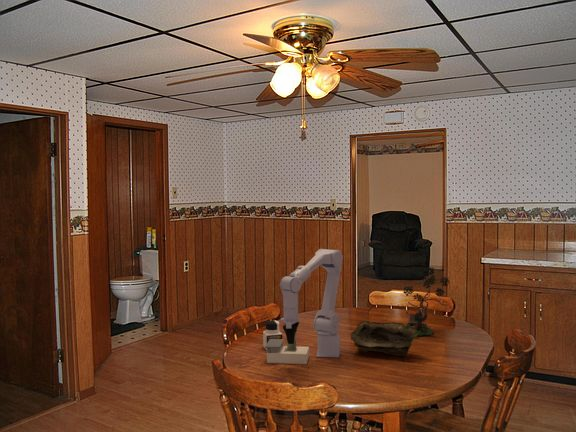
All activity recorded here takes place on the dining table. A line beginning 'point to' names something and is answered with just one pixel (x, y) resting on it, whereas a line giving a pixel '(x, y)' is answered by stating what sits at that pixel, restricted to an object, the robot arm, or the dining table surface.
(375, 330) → the dark green planter
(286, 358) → the socket board
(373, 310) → the dining table surface
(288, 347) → the dowel
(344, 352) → the dining table surface
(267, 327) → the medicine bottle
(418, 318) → the bonsai tree
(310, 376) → the dining table surface
